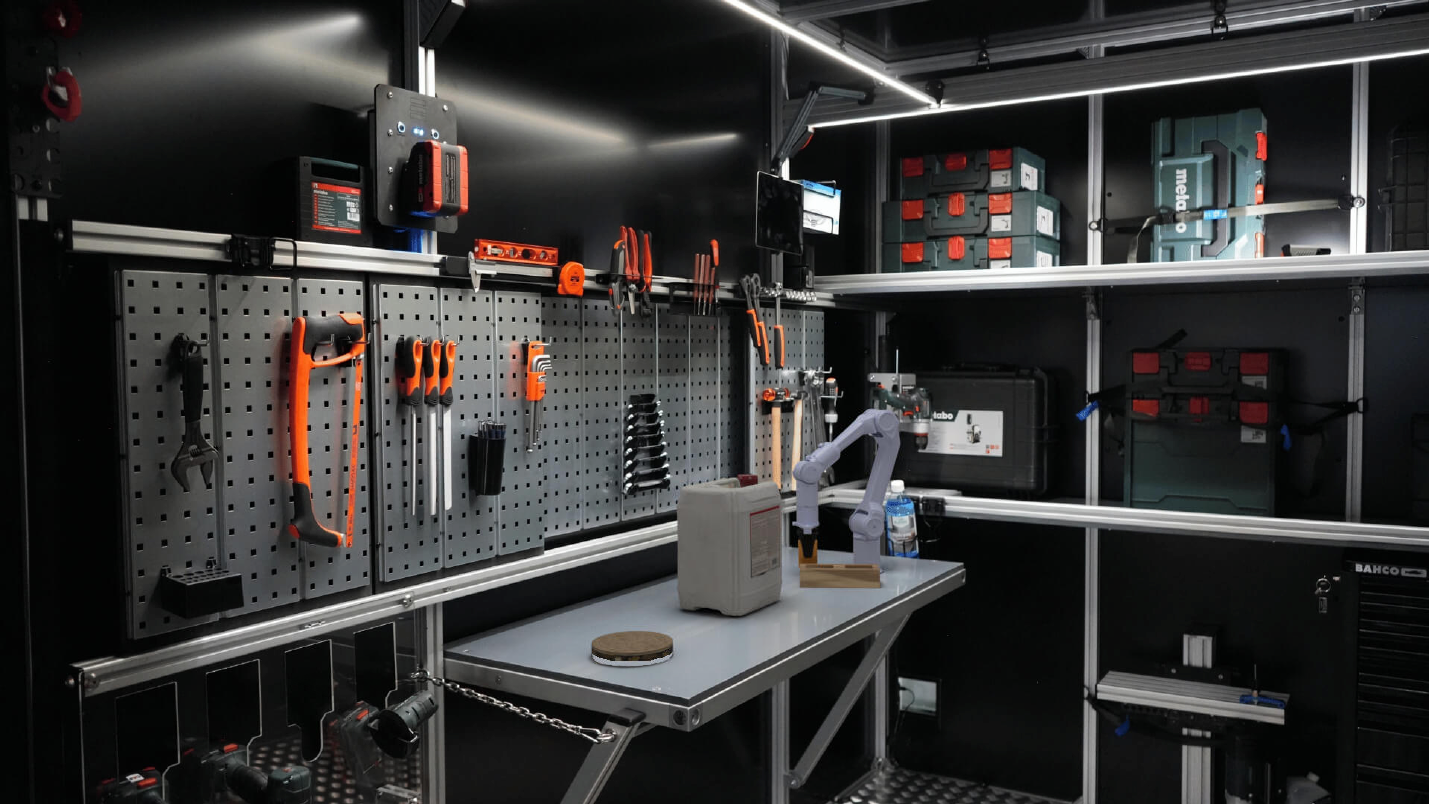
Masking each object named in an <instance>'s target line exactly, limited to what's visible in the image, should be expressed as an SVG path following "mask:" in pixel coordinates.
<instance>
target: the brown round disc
mask: <svg viewBox="0 0 1429 804" xmlns="http://www.w3.org/2000/svg"><path fill="white" fill-rule="evenodd" d="M672 652H673V653H674V638H673V637H671V636H670V635H668V634H664V633H662V632H655V631H647V630H627V631H620V632H619V631H617V632H613V633H612V632H611V633H607V634H603V635H601V636H598V637H596V638H594V639H593V640H592V642H591V655H592V654H593V655H595V656H597V657H599V658H603V659H607V660H610V661H651V660H654V659H657V658H663V657H665V656H667V655H670V654H671V653H672Z"/></svg>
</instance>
